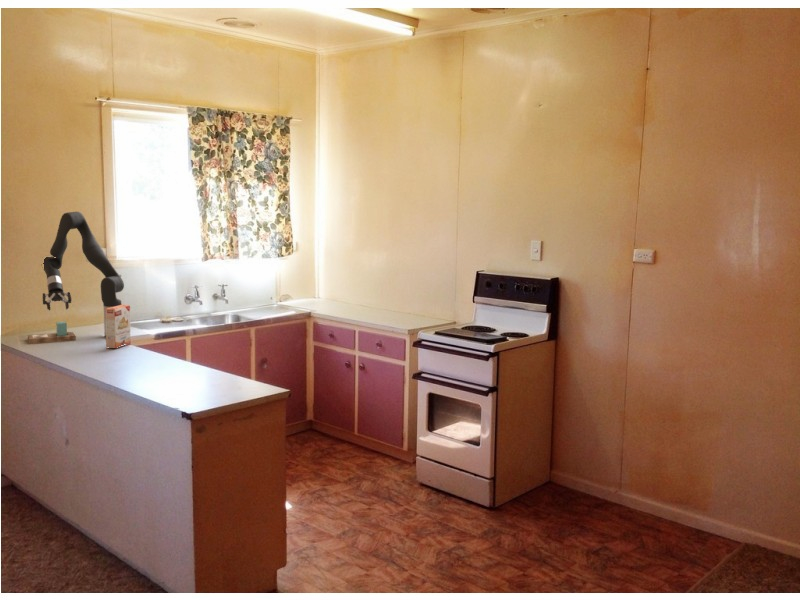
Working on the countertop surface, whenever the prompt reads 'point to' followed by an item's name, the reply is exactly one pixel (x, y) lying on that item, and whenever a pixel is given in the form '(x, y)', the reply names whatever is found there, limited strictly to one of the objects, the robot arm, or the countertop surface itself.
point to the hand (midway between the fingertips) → (58, 309)
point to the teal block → (61, 328)
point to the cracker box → (117, 326)
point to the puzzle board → (50, 338)
